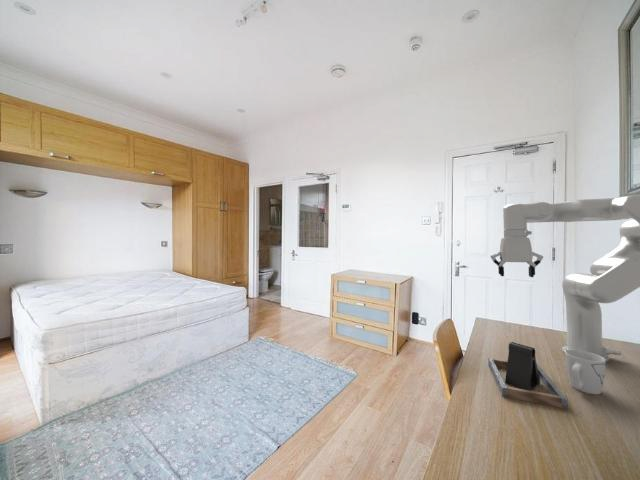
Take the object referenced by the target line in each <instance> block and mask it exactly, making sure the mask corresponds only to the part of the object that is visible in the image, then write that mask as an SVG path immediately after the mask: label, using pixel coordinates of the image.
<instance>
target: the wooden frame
mask: <svg viewBox="0 0 640 480" xmlns="http://www.w3.org/2000/svg"><path fill="white" fill-rule="evenodd" d="M487 361H488V366H489V369H490V371H491V374H492V377H494V380H495V382H496V385H497V387H498V389H499V391H500V394H501V396H502V397H505V398H510V399H515V400H520V401H525V402H529V403H535V404H540V405H546V406H550V407H551V406H552V407H555V408H561V409H566V410H568V409H569V405H568V404H569V403H568V398H567V397H566V396H565V394H564V393H563V392H562V391H561V390H560V389H559V388H558V387H557V385H556V384H555V383H554V381H553V380H552V379H551V378H550V377H549V376H548V374H547V373H546V371H544V369H542V367H541V366H540V365H539V364H537V368H538V373H539V378H540V382H541V383H542V384H543V385H544V387H545V388H546V389H547V390H548V391H549V393H547V392H546V393H545V392H541V391H540V392H539V391H536V390H534V391H533V390H531V391H530V390H524V389H519V388H516V387H514V386H506V385H507V384H506V383H505V380H504V379H503V377H502V375H501V373H500V371H499V369H506V370H507V363H508V359H507V360H505V359H500V358H499V359H498V358H491V357H488V359H487Z"/></svg>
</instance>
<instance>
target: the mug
mask: <svg viewBox="0 0 640 480" xmlns="http://www.w3.org/2000/svg"><path fill="white" fill-rule="evenodd" d="M564 354H565V355H564V357H565V365H566V369H567V370H566V371H567V375H568V378H569V382H570V385H571V386H572V388H574V389H576V390H577V391H578V392H579V391H580V392H582V393H585V394H590V395H600V394H601V393H602V390H603V388H604V387H603V386H604V382H605V377H606V365H607V364H606V363H607V362H606V361H605V359H604V358H603V357H601V356H599V355H597V354H594V353H590V352H586V351H581V350H566V351H565V353H564Z"/></svg>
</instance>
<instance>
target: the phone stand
mask: <svg viewBox="0 0 640 480" xmlns="http://www.w3.org/2000/svg"><path fill="white" fill-rule="evenodd" d="M507 356H508V357H507V361H508V363H507V369H506V373H505V380H504V383H505V384H506V385H509V386H511V387H513V388H519V389H524V390H530V391H533V390H534V389H535V388H537V386H539V385H540V384H541V380H540V378H539V373H538V368H537V365H538V363H537V357H536V349H535V348H534V347H531V346H528V345H525V344H524V345H523V344H521V343H517V342H514V341H511V342H509V343H508V355H507Z"/></svg>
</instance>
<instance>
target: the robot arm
mask: <svg viewBox="0 0 640 480" xmlns="http://www.w3.org/2000/svg"><path fill="white" fill-rule="evenodd" d="M502 209H503V210H502V211H503V214H502V216H503V217H502V218H503V237H501V239H500V244H499V245H500V246H499V252H496V253H494V254H491V255H490V258H491V261H492V262H493V263H494V264H495V265H497V266H498V267H497V269H498V275H500V276H501V277H505V267H504V265H505V264H506V263H526V264H528V265H529V266H528V277H530V278H534V276H536V268H537V266H538V265H539V264H541V262H542V261H543V259H544V256H543V255H542V254H540V253H536V252H533V248H532V242H531V239H530V237H528V236H529V235H532V234H533V233H532V231H531V230H528V224H531V223H535V224H536V223H555V222H556V223H557V222H559V223H561V222H562V223H571V222H572V223H574V222H575V223H576V222H577V223H578V222H596V221H597V222H601V221H602V222H603V221H604V222H605V221H609V222H610V221H621V220H626V221H624V222H623V223H622V224H621V225H620V227H619V237H620V240H619V241H620V242H619V244H618V245H617V246H616V247H615V248H614V249H612V250H610V251H609V252H608V253H606V254H605V255H603V256H602V257H600V258H598V259H596V260H595V261H594V262H593V263H592V264H591V265H590V268H589V272H590V273H591V274H589V273H583V272H574V273H569V274H568V275H567V276H565V277H564V278H563V280H562V283H561V285H562V287H561V288H562V291H563V294H564V300H565V308H566V309H565V310H566V312H565V314H566V317H565V318H566V319H565V320H566V344H567V345H564V346H562V347H561V350H562V352H563V353H564V354H565V351H566V350H581V351H586V352H590V353H594V354H597V355H599V356H601V357H603V358H604V359H605V361H606V363H607V362H609V361H610V355H613V356H622V355H623V354H622V351H621V350H620V349H615V348H614V349H613V348H612V347H608V346H607V347H606V346H604V345H603V320H602V318H603V317H602V316H603V315H602V309H601V308H602V307H601V305H600V304H612V303H615V302H617V301H620V300H622V299H623V298H624V297H626V296H629V294H631V293H632V292H634V291H635V290H637V289H639V288H640V194H630V195H624V196H619V197H611V198H610V197H609V198H606V197H605V198H592V199H589V198H586V199H575V200H574V199H573V200H567V201H562V202H557V203H549V202H545V201H537V202H532V203H510V204H506V205H504V207H503V208H502ZM497 257H499V259H500V261H498V260H497ZM533 257H536V260H534V261H533Z"/></svg>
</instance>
